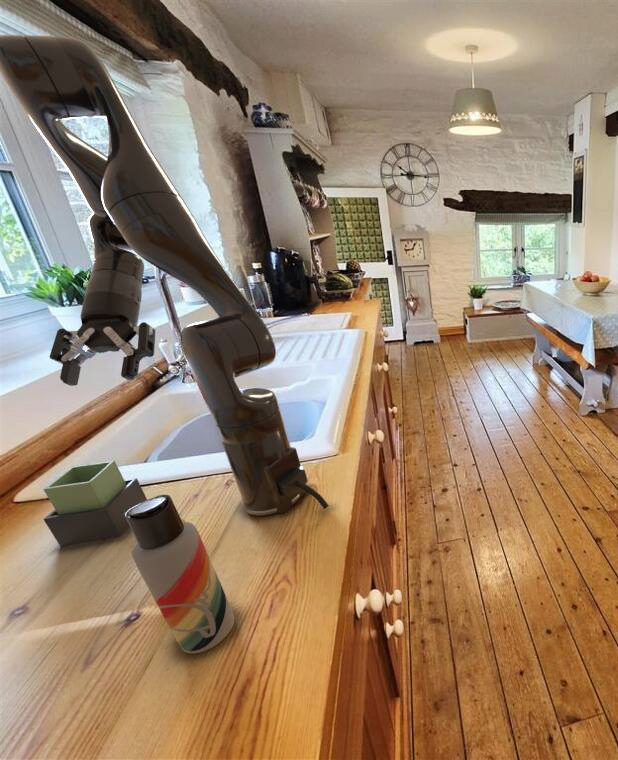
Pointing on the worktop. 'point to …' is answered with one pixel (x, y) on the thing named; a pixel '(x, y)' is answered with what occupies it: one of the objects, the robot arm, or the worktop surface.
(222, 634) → the lotion bottle
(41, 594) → the worktop surface
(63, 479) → the green bin
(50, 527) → the charcoal bin
